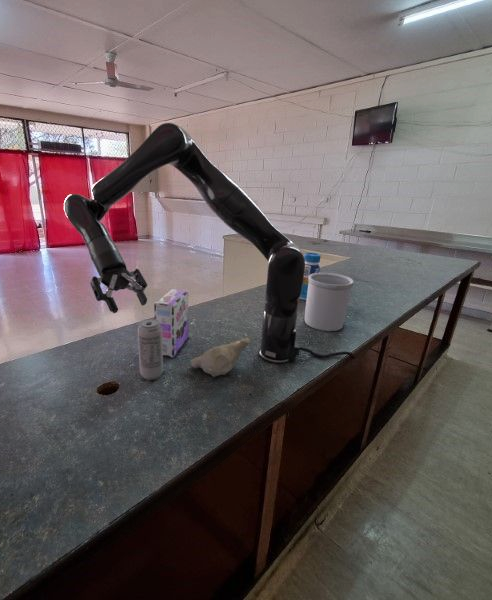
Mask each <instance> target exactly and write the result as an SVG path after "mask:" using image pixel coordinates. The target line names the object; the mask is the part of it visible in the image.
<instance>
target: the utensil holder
mask: <svg viewBox="0 0 492 600" xmlns="http://www.w3.org/2000/svg"><path fill="white" fill-rule="evenodd" d="M308 280H309V284H308V292H307V300H305V308H304V309H305V310H304V323H305V324H306V325H307V326H308V327H311V328H313V329H316V330H319V331H323V332H336V331H340V330H342V329H343V328H344V324H345V319H346V316H347V311H348V307H349V302H350V297H351V293H352V287H353V285H354V280H353V278H351V277H349V276H347V275H344V274H340V273H334V272H333V273H332V272H319V273H313V274H310V275H309V278H308Z"/></svg>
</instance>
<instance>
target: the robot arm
mask: <svg viewBox="0 0 492 600" xmlns="http://www.w3.org/2000/svg"><path fill="white" fill-rule="evenodd" d="M167 165H170V166H172V167H174V169H175V170H177V171H178V172H180V173H181V174H182V175H183V176H184V177H185V178H186V179H187V180H189V181H190V182H191V183H192V184H193V186H194V187H195V188H196V190H197V192H198V194H199V195H200V196H201V198H202V199H203V201H204V202H205V204H206V205H207V206H208V207H209V209H210V210H211V211H212V212H213V214H215V215H216V217H218V218H219V219H220V221H222V222H223V223H224V224H225V225H226V226H227V227H229V229H231V230H232V231H234V232H235V233H237V234H238V235H239V236H241V237H243V238H244V239H245V240H246V241H248V242H249V243H251V244H252V245H253V247H255V248H256V249H257V250H258V251H259V252H260V254H262V256H263V257H264V259H265V260H266V261H267V262H268V265H267V274H266V276H267V278H266V286H265V299H264V306H263V307H264V308H263V317H262V318H263V320H262V330H261V338H260V348H259V356H260V357H261V358H262V359H263V360H265V361H267V362H268V363H273V364H285V363H292V362H293V360H294V356H298V357H299V355H300V351H303V352H306V353H309V354H310V355H311V356H313V357H316V358H320V359H327V358H331V357H338V356H342V355H347V356H350V357H351V358H353V359H355V358H357V357H356V355H355V354H354V353H352V352H350V351H344V350H343V351H337V352H331V353H328V354H320V353H316V352H315V351H313V350H311V349H309V348H307V347H301V346H300V344H299V340H296V337H297V329H296V326H297V320H298V319H297V318H298V312H299V304H300V300H301V299H300V296H301V291H302V284H303V278H304V271H305V258H304V253H303V251H302V249H301V248H300V247H299V246H298V245H297V244H295V243H294V242H293V241H292V240H291V239H289V238H288V237H287V236H285V234H283V233H282V232H281V231H280V230H278V229H277V228H276V227H275V226H274V225H273V223H272V222H271V221H270V220H269V219H268V218H267V216H266V215H265V213H263V211H262V210H261V209H260V208H259V206H258V205H257V204H256V203H255V201H253V199H252V198H251V197H250V196H249V195H248V194H247V193H246V192H245V191H244V190H243V189H242V188H241V187H240V186H239V185H238V184H237V183H236V181H234V180H233V179H231V177H230V176H229V175H227V174H226V173H225V172H224V171H223V170H221V168H219V167H218V166H216V165H215V164H214V163H212V161H211V160H210V159H209V158H208V157H207V156H206V154H204V152H203V151H202V150H201V148H200V147H199V146H198V145H197V143H196V142H195V140H193V138H192V137H191V135H190V134H189V132H188V131H186V130H185V129H184V128H183V127H181V126H179V125H178V124H176V123H173V122H165V123H162V124H160V125H158V126H157V127H156V128H155V129H154V130H153V131H152V132H151V133H150V134H149V135H148V136H147V137H146V139H145V140H143V142H142V143H141V144H140V145H139V146H138V147H137V148H136V150H134V151H133V152H132V154H130V155H129V156H128V157H127V158H126V159H125V160H124V161H123V162H121V163H120V164H119V165H118V166H117V167H115V168H114V169H112V171H110V172H109V173H107V174H106V175H105V176H103V177H102V178H101V179H99V180H98V181H96V182H95V183H94V184H93V185H92V187H91V196H92V197H93V198H92V199H91V198H88V197H86V196H84V195H82V194H79V193H71V194H69V195H67V197H66V198H65V200H64V203H63V210H64V213H65V216H66V217H67V220H68V221H69V223H71V225H72V226H73V228H75V230H76V231H77V233H79V234H80V236H81V237H82V240H83V242H84V244H85V247H86V248H87V251H88V254H89V257H90V260H91V261H92V263H93V265H94V267H95V270H96V271H97V274H98V275H99V277H97V276H92V278H91V279H90V282H89V285H90V287H91V289H92V292H93V295H94V297H95V299H96V301H97V302H101V301H102V302H103V301H104V302H105V303H106V306H107V308H108V309H109V311H110V312H111V313H113V314H117V313H118V311H119V308H118V305H117V304H116V301H115V298H114V297H113V296H112V294H113V292H117V291H120V290H126V289H127V290H128V291H132V292H133V293H135V294H136V297H137V299H138V302H139V303H140V305H141V306H142V307H143V306H146V305H147V303H148V297H147V296H146V293H145V292H144V291H145V290H146V288H147V287H148V283H147V281H146V280H145V277H144V276H143V274H142V272H141V271H140V269H139V268H135V269H134V270H132V271H129V270H128V269H127V265H126V263H125V261H124V260H125V259H124V258H123V256H122V254H121V252H120V250H119V249H118V246H117V245H116V243H115V241H114V240H113V238H112V237H111V234H110V232H109V231H108V229H107V227H106V225H105V224H104V223H103V222H101V221H102V220H103V218H104V217H105V216H106V215H107V213H108V212H109V211H110V209H111V208H112V207H113V206H114V205H115V204H117V203H118V202H119V201H121V200H122V199H124V198H125V197H127V196H128V195H129V194H130V193H131V192H132V191H133V190H134V189H135V188H136V187H137V186H138V185H139V183H140V182H141V181H142V180H144V179H145V178H146V177H147V176H149V175H150V174H152V173H153V172H154V171H156V170H158V169H160V168H162V167H164V166H167ZM101 285H103V286H105V287H106V290H105V293H104V291H103V288H102V286H101Z"/></svg>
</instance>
